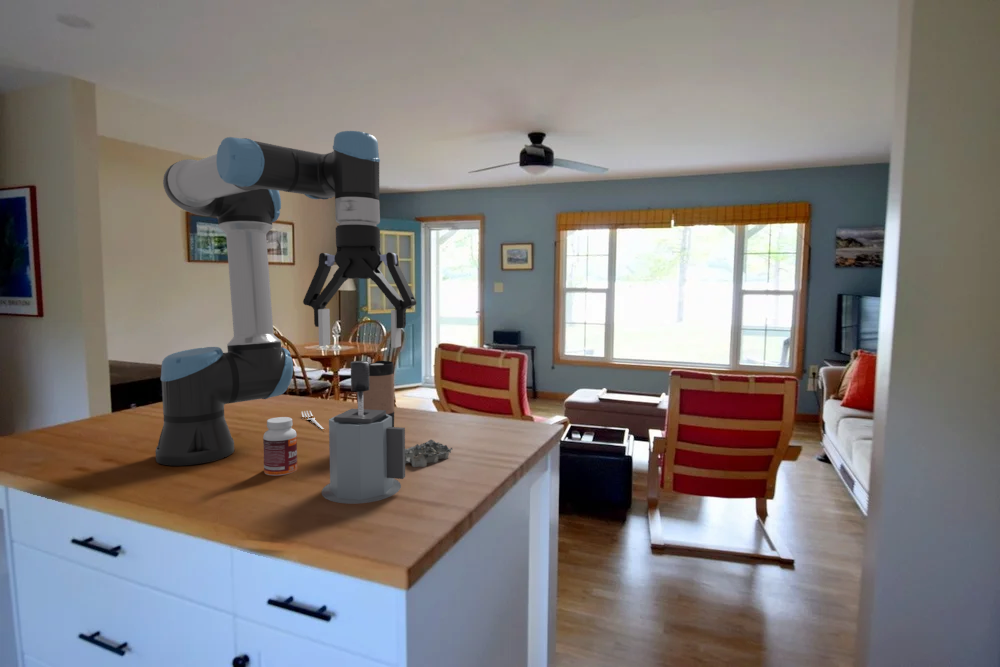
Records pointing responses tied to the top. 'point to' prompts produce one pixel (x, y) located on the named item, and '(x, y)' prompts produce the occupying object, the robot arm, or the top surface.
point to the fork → (312, 419)
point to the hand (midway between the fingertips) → (360, 346)
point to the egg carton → (426, 453)
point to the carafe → (365, 454)
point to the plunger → (360, 382)
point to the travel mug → (380, 388)
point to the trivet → (332, 497)
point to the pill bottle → (280, 447)
